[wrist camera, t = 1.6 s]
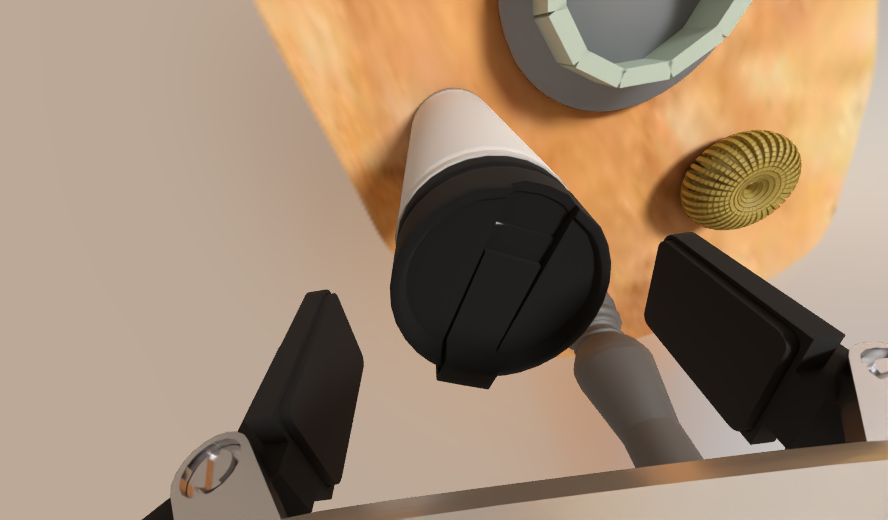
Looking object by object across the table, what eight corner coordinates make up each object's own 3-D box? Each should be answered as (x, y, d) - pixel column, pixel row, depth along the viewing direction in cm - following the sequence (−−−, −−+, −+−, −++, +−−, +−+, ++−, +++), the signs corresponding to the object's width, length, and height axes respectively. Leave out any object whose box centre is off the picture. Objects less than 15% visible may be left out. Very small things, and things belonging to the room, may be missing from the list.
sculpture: (806, 111, 22) (826, 195, 26) (756, 102, 25) (779, 177, 29) (686, 189, 25) (719, 256, 28) (655, 171, 28) (688, 233, 32)
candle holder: (559, 326, 37) (731, 690, 16) (530, 294, 35) (693, 682, 14) (611, 297, 35) (881, 669, 14) (584, 260, 33) (872, 654, 12)
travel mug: (400, 164, 27) (361, 373, 10) (425, 73, 23) (427, 158, 6) (474, 187, 28) (548, 405, 11) (506, 105, 25) (683, 240, 8)
